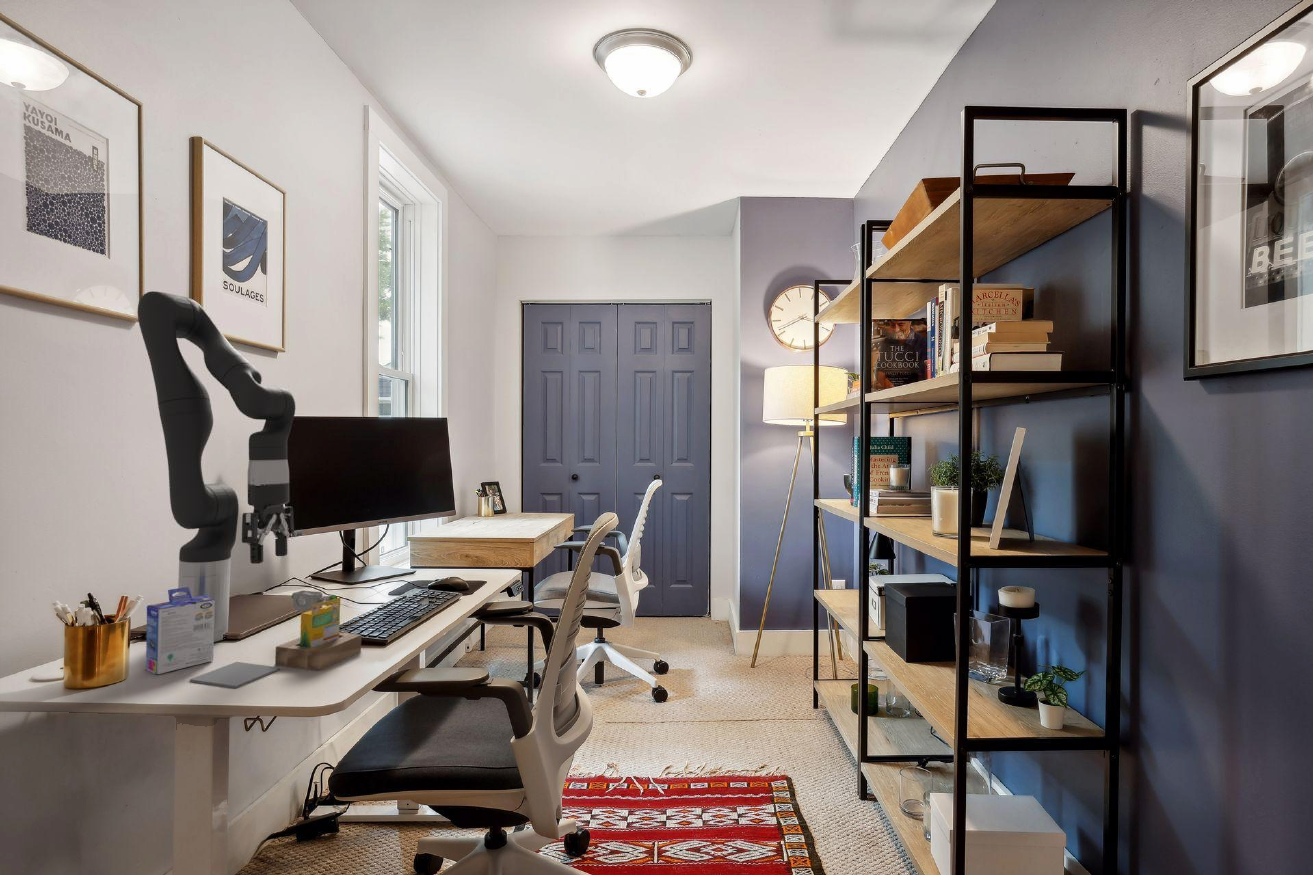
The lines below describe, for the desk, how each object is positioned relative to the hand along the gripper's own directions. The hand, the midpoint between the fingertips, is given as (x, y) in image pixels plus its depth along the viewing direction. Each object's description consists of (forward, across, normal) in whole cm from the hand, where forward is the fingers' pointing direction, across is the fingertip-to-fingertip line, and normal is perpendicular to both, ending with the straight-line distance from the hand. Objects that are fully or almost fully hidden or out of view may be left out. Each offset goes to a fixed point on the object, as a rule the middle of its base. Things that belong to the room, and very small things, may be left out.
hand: (269, 559), depth 139 cm
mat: (+19, +16, +3) cm, 25 cm away
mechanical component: (+19, -7, +5) cm, 21 cm away
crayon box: (+19, +4, +13) cm, 24 cm away
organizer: (+19, +4, +13) cm, 23 cm away
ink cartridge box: (+18, +12, -10) cm, 24 cm away
